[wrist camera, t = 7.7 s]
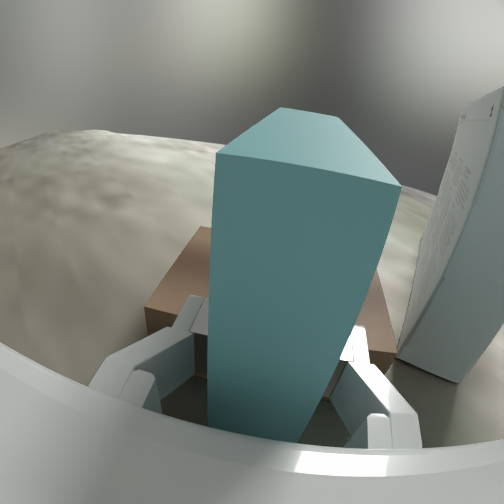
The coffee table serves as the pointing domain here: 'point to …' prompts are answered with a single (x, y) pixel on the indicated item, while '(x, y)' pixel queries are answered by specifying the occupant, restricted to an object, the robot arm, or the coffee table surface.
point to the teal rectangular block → (289, 267)
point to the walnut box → (197, 283)
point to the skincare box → (462, 252)
